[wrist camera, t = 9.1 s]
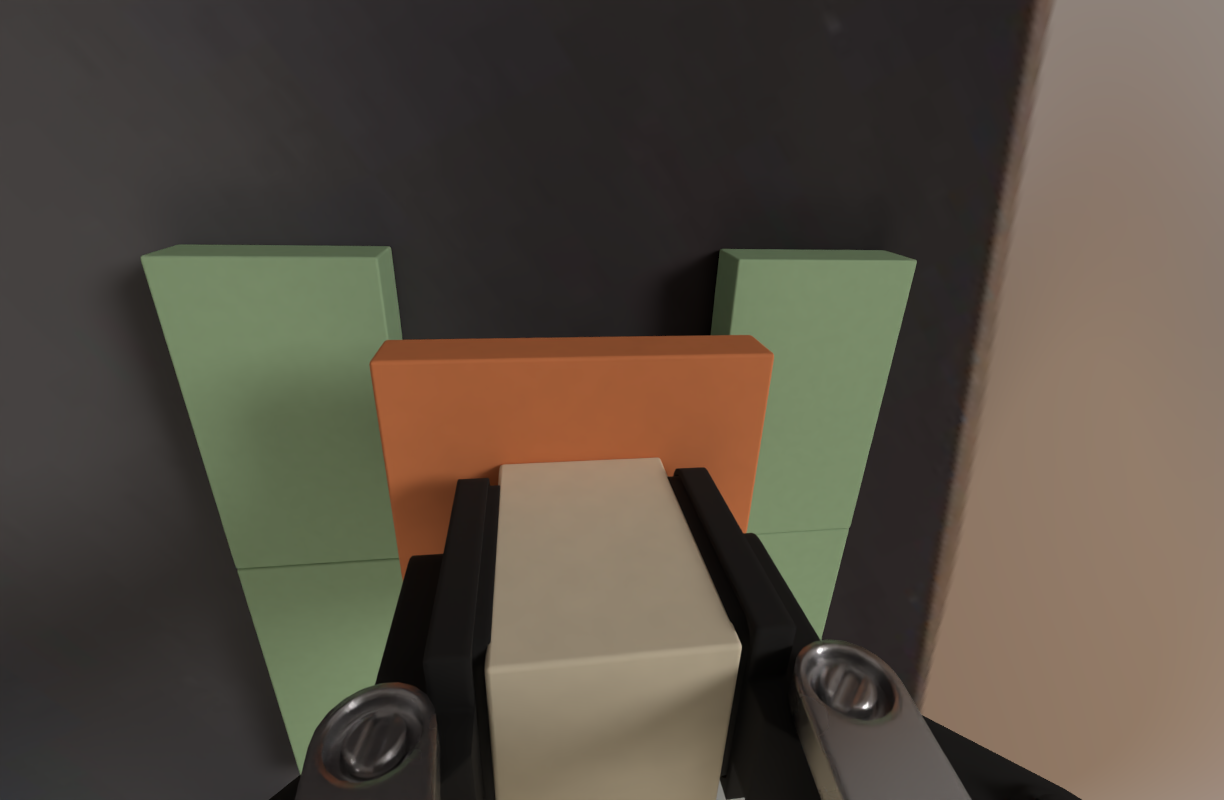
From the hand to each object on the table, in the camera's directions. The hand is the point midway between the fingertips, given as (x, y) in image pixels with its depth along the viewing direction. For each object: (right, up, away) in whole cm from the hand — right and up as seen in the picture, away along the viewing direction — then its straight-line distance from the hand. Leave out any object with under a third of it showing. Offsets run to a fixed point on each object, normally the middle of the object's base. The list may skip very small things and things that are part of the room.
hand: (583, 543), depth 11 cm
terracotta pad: (0, +1, +2) cm, 2 cm away
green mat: (-1, -2, +8) cm, 8 cm away
